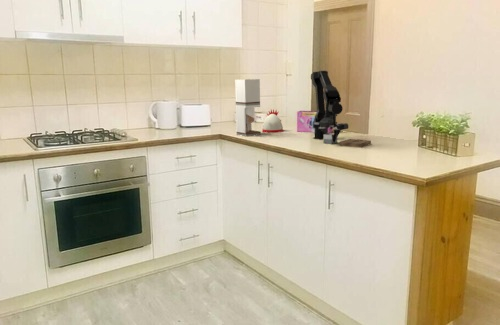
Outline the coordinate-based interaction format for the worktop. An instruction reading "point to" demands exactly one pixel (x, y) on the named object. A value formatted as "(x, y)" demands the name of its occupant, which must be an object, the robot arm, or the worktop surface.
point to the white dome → (272, 123)
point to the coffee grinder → (246, 105)
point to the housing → (329, 138)
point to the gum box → (307, 121)
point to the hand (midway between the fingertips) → (330, 141)
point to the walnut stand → (355, 143)
